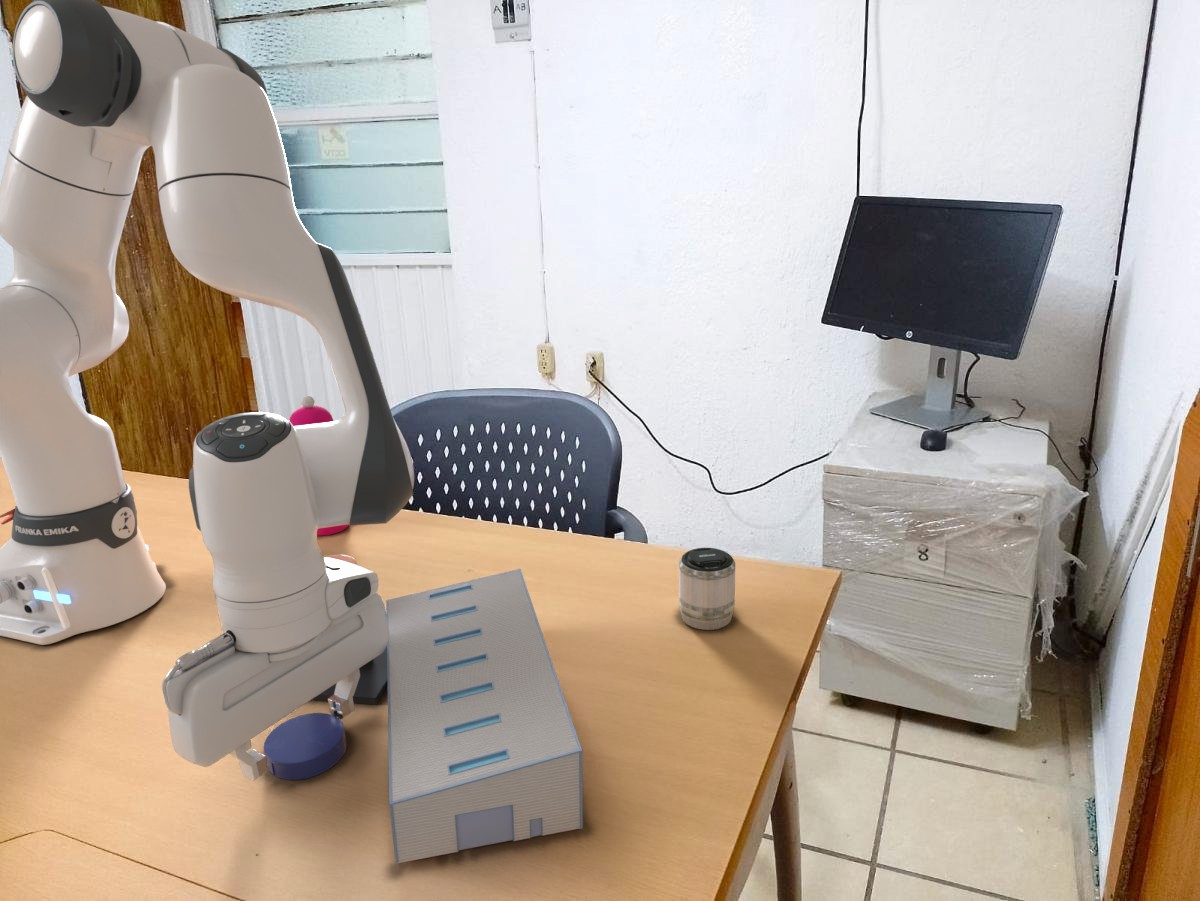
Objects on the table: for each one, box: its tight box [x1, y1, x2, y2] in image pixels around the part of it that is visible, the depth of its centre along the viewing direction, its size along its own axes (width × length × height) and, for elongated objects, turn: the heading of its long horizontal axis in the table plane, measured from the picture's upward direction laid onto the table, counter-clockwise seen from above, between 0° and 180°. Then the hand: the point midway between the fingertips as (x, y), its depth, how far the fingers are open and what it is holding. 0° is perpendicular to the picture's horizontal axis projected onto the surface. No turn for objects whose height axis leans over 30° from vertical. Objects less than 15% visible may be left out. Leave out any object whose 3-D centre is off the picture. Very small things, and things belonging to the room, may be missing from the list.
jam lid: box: [263, 712, 347, 781], centre depth 75 cm, size 7×7×2 cm
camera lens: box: [678, 547, 736, 631], centre depth 93 cm, size 6×6×8 cm
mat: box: [310, 646, 388, 705], centre depth 88 cm, size 13×13×1 cm
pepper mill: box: [288, 395, 350, 536], centre depth 118 cm, size 7×7×20 cm
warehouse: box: [385, 568, 584, 865], centre depth 76 cm, size 30×14×8 cm, turn 14°
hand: (301, 742), depth 74 cm, fingers open, 8 cm apart
